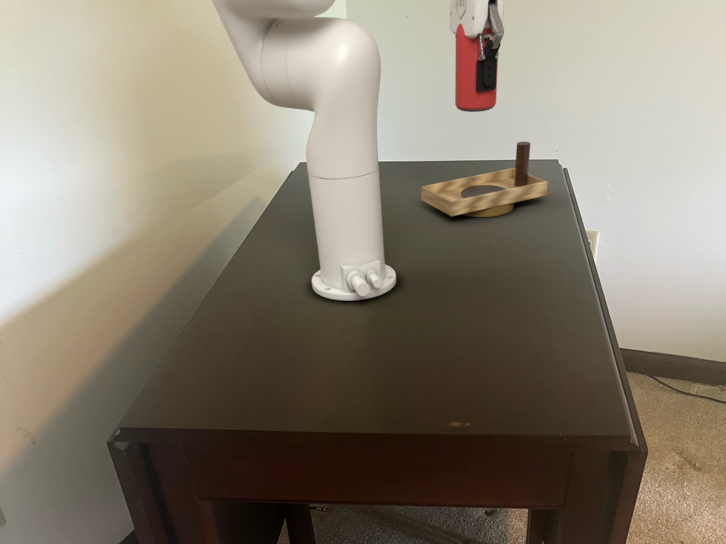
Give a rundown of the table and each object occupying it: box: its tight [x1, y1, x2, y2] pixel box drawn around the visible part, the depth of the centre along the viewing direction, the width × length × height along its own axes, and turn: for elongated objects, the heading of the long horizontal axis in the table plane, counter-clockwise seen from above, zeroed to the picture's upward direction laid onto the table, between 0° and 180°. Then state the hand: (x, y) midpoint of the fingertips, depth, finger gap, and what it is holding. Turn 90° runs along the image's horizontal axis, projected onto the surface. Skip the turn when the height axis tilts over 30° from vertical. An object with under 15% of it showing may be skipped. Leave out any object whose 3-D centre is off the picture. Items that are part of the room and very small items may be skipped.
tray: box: [420, 141, 549, 217], centre depth 120 cm, size 20×11×8 cm, turn 117°
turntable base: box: [461, 202, 515, 218], centre depth 123 cm, size 11×11×2 cm
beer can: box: [454, 18, 499, 113], centre depth 105 cm, size 7×7×12 cm
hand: (476, 85), depth 107 cm, fingers closed on beer can, 6 cm apart
